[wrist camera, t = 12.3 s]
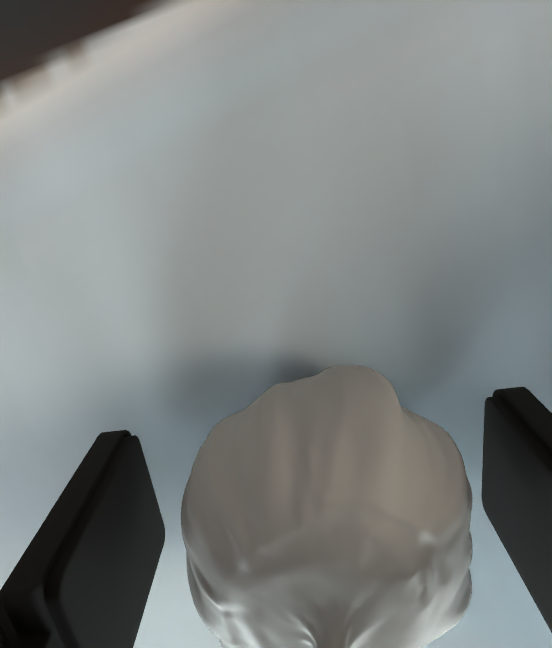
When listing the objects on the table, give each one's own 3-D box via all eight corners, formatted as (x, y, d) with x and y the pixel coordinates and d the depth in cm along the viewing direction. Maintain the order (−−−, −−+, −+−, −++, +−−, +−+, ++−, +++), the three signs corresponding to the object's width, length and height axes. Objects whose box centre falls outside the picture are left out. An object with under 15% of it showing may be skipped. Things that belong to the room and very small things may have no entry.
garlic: (358, 566, 12) (408, 847, 7) (166, 500, 11) (80, 762, 7) (484, 386, 10) (670, 609, 5) (260, 290, 9) (237, 446, 5)
